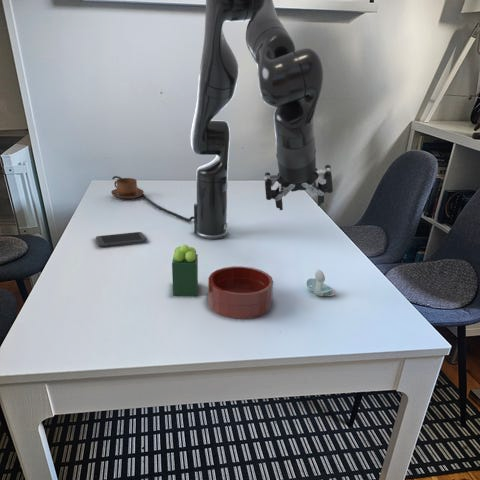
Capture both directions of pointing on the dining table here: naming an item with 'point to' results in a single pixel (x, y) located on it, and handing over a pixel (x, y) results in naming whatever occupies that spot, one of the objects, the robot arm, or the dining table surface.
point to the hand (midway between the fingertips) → (299, 205)
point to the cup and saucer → (126, 189)
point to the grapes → (185, 271)
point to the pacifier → (319, 285)
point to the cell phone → (120, 239)
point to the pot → (240, 292)
